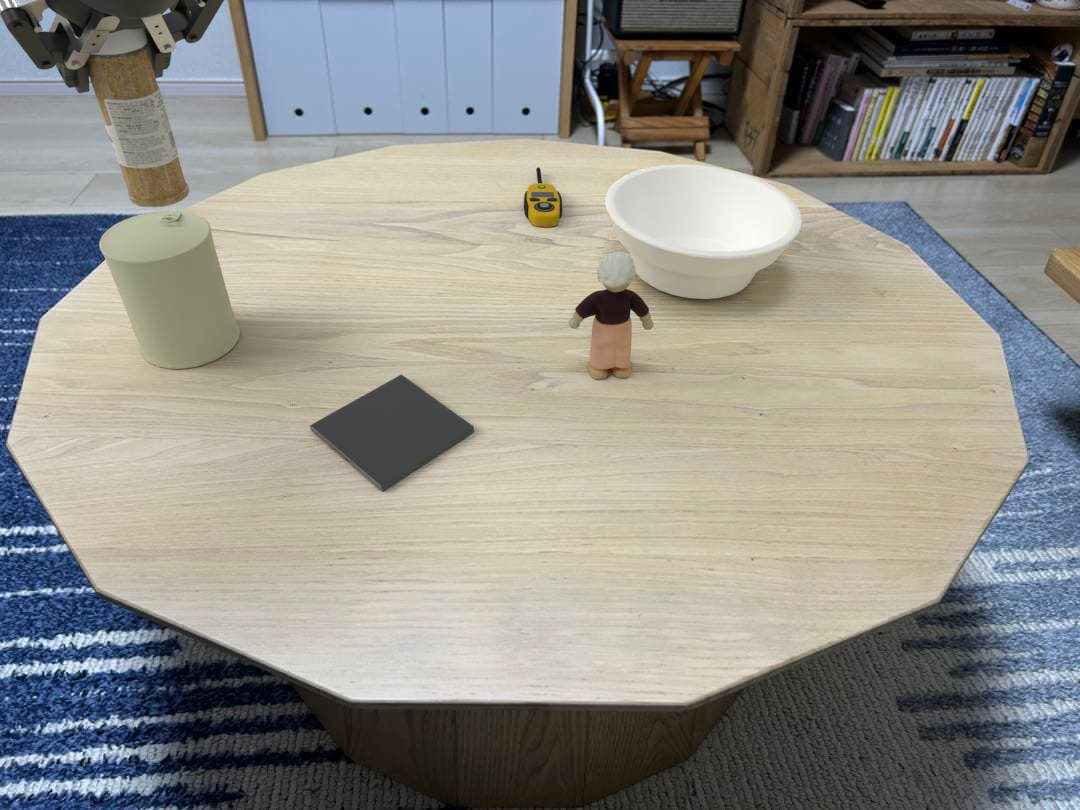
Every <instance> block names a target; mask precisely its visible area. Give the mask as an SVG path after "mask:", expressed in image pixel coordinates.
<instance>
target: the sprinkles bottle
mask: <svg viewBox="0 0 1080 810" xmlns="http://www.w3.org/2000/svg"><path fill="white" fill-rule="evenodd" d="M146 43H147V37H146V34H145V31H144V28H141V29H134V30H120V31H117V32H113V33H110V34H109V35H108V37H107V38H106V40H105V42H104V44H103V46H102V48H101V49H100V51H99V53H91V54H90V56H89V58H88V60H87V61H86V62H87V64H88V66H89V81H90V82H91V85H92V89H93V92H94V95H95V97H96V100H97V103H98V106H99V111H100V114H101V117H102V120H103V121H104V127H105V130H106V133H107V135H108V138H109V140H110V145H111V147H112V150H113V153H114V156H115V158H116V161H117V163H118V164H119V167H120V170H121V174H122V175H123V176H122V177H123V180H124V182H125V184H126V188H127V191H128V197H129V200H130V202H131V203H132V204H134V205H136V206H138V207H140V208H163V207H164V208H165V207H168V206H169V207H170V206H173V205H176V204H178V203H179V202H182V201H183V200H185V199H186V198H187V197H188V195H189V193H190V187H189V184H188V183H187V182H186V178H185V175H184V173H183V169H182V165H181V162H180V159H179V156H178V155H179V150H178V147H177V145H176V141H175V138H174V133H173V130H172V127H171V123H170V120H169V117H168V113H167V110H166V106H165V102H164V99H163V96H162V92H161V88H160V86H159V84H158V81H157V78H155V74H154V71H153V68H152V64H151V61H150V57H149V54H148V51H147V48H148V46H147V44H146Z"/></svg>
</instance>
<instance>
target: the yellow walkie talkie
mask: <svg viewBox="0 0 1080 810" xmlns="http://www.w3.org/2000/svg"><path fill="white" fill-rule="evenodd" d="M541 171H542V170H541V167H536V178H537V182H536V183H531V184H530V185H528V188H527V190H525V192H524V196H523V211H524V215H525V217H526V218H527V219H528V221H530V224H531V225H533V226H534V227H540V228H551V227H555V226H557V225H558V223H559V221H560V219H561V218H562V214H563V198H562V195H561V193H560V192H559V190H557V188H555V186H554V185H553V184H551V183H546V182H544V183H543V178H542V172H541Z"/></svg>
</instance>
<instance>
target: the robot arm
mask: <svg viewBox="0 0 1080 810" xmlns="http://www.w3.org/2000/svg"><path fill="white" fill-rule="evenodd" d="M224 2H225V0H0V17H1V20H2V21H3V23H4V25H5V27H6V29H7V30H8V32H9V34H11V35H12V37H13V38H14V39H15V41H16V42H17V43H18V44H19V46H20V48H22V50H23V51H24V52H25V54H26V56H28V58H29V59H30V60H31V62H32V63H33V64H34V65H35V67H36V68H37V69H38V70H49V69H50V70H51V69H52V68H55V67H56V69H57V71H58V73H59V74H60V75H59V76H61V79H62V80H63V82H64V84H65V86H67V88H69V89H73V88H75V90H76V91H77V94H83V93H88V92H90V77H89V66H88V64H87V62H86V61H87V60H88V58H89V56H90V54H91V53H99V51H100V49H101V48H102V46H103V44H104V42H105V40H106V38H107V37H108V35H109V34H110V33H113V32H117V31H120V30H134V29H141V28H144V31H145V34H146V37H147V43H146V44H147V46H148V48H147V51H148V54H149V57H150V61H151V64H152V68H153V71H154V74H155V78H156V79H158V78H162V77H163V76H164V70H168V69H169V67H170V66H171V60H172V52H174V50H176V48H177V43H178V42H180V41H182V40H184V41H185V42H186V43H187V44H194V43H197V42H199V41H200V40H201V39H202V38H203V37H204V35H205V33H206V31H207V30H208V28H209V27H210V24H211V23H212V21H213V20H214V18H215V16H216V14H217V13H218V12H219V10H220V8H221V7H222V4H223V3H224ZM47 9H50V10H51V11H52V12H54V14H55V17H54V19H53V21H52V24H51V25H50V28H49V30H48V31H43V27H42V25H41V23H40V22H42V21H43V19H44V16H43V14H44V13H43V12H44V11H46V10H47ZM168 10H169V12H166V11H168Z"/></svg>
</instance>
